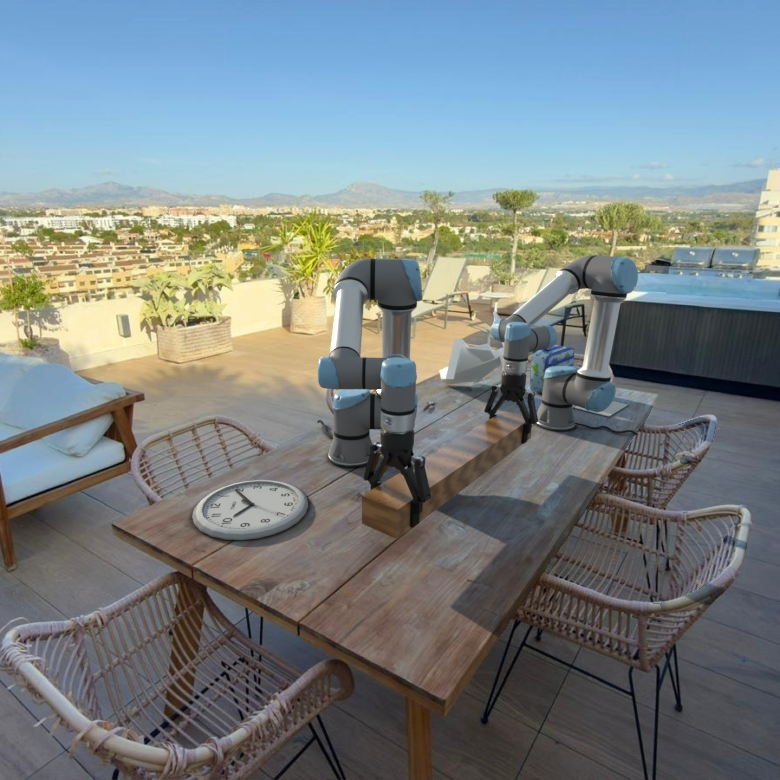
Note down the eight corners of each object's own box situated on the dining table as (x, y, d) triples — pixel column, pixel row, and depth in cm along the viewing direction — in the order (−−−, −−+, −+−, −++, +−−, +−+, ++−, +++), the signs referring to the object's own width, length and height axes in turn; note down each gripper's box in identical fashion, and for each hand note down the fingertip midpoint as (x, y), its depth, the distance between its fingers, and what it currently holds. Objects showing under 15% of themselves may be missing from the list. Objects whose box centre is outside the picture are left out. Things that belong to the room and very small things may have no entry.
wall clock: (304, 532, 127) (176, 536, 124) (304, 538, 127) (177, 542, 125) (311, 475, 155) (207, 478, 153) (311, 480, 156) (208, 483, 153)
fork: (420, 411, 216) (420, 406, 216) (430, 400, 230) (431, 395, 230) (426, 412, 215) (426, 407, 215) (436, 401, 230) (436, 396, 229)
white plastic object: (461, 429, 252) (437, 405, 227) (444, 352, 274) (420, 323, 250) (535, 404, 240) (518, 377, 215) (510, 326, 262) (492, 293, 237)
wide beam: (502, 430, 178) (504, 410, 176) (530, 438, 172) (532, 417, 170) (361, 523, 120) (361, 495, 118) (397, 539, 115) (397, 509, 112)
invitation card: (608, 416, 214) (573, 407, 224) (608, 416, 214) (573, 408, 224) (628, 404, 229) (594, 396, 238) (628, 405, 229) (594, 397, 238)
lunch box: (546, 398, 236) (551, 353, 229) (525, 393, 243) (529, 349, 237) (573, 387, 253) (579, 344, 247) (553, 382, 260) (558, 341, 254)
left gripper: (347, 421, 119) (348, 507, 126) (431, 447, 106) (427, 541, 113) (368, 412, 125) (368, 495, 131) (450, 436, 112) (445, 526, 118)
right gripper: (476, 368, 167) (472, 432, 174) (544, 381, 154) (537, 450, 160) (487, 364, 173) (482, 426, 179) (554, 376, 159) (546, 443, 166)
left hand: (395, 516), depth 122 cm, fingers closed on wide beam, 10 cm apart
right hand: (508, 438), depth 170 cm, fingers closed on wide beam, 10 cm apart
